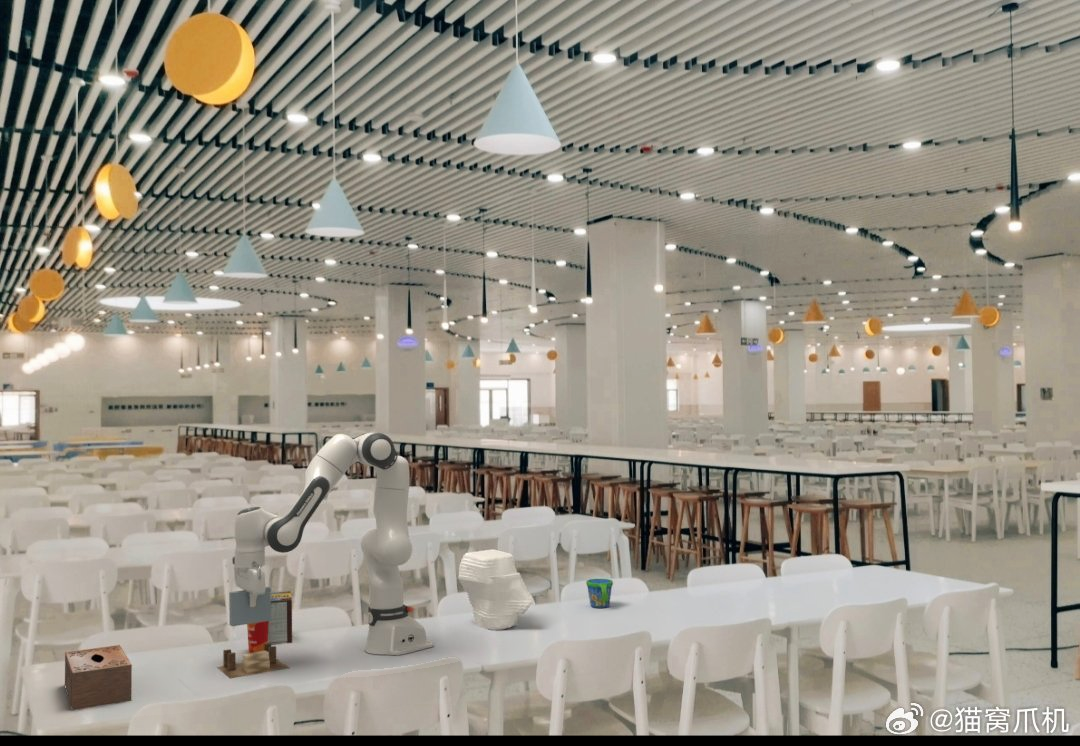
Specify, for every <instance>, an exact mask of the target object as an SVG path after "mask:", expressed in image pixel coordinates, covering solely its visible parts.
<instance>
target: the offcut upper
mask: <svg viewBox="0 0 1080 746" xmlns="http://www.w3.org/2000/svg"><path fill="white" fill-rule="evenodd" d="M241 656H242V658H241V659H242V660H241V661H242V662H241V663H243V664H245V665H249V664H254V663H259V662H265V661H269V652H267V651H259V652H254V653H249V652H248V653H244V654H242V655H241Z"/></svg>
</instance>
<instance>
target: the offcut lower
mask: <svg viewBox="0 0 1080 746" xmlns="http://www.w3.org/2000/svg"><path fill="white" fill-rule="evenodd" d="M268 669H270V661H265V662H259V663H254V664H249V665H245V664H244V672H246V673H250V672H256V671H262V670H268Z"/></svg>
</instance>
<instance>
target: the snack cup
mask: <svg viewBox="0 0 1080 746" xmlns="http://www.w3.org/2000/svg"><path fill="white" fill-rule="evenodd" d="M613 581H614V580H612V579H608V578H589V579H587V580H586V581H585V582H586V583H585V584H586V586H587V592H588V599H589V604H590V607H592V608H594V609H595V608H597V609H605V608H608V607H610V604H611V603H610V602H611V594H612V589H613V588H612V587H613V585H614V582H613Z"/></svg>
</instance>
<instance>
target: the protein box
mask: <svg viewBox="0 0 1080 746" xmlns="http://www.w3.org/2000/svg"><path fill="white" fill-rule="evenodd" d="M268 643H271V646H276V645H284V644H293V597H292V593H291V591H288V590H287V591H278V592H276V591H275V592H271V621H269V628H268Z"/></svg>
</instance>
